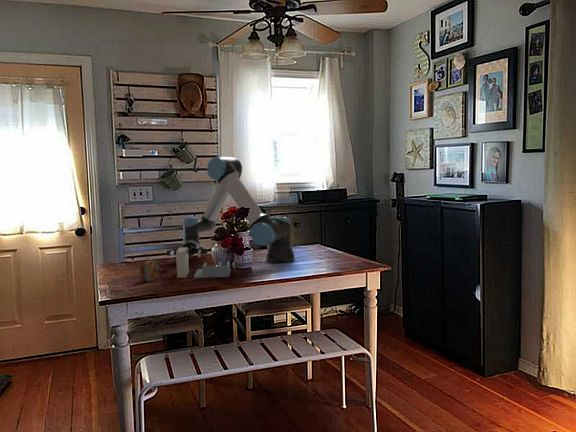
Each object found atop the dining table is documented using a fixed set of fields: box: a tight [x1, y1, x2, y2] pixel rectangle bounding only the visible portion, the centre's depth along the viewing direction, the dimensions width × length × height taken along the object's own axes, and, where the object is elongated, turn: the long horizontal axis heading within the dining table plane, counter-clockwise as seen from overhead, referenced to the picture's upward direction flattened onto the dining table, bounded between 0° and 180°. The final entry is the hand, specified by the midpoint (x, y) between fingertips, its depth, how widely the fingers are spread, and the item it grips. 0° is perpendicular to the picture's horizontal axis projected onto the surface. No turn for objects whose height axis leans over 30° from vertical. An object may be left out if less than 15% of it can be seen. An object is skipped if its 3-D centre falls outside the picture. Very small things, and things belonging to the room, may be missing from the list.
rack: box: [193, 261, 231, 279], centre depth 234 cm, size 16×16×5 cm
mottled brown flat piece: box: [139, 259, 161, 282], centre depth 226 cm, size 15×3×8 cm, turn 168°
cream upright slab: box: [175, 247, 190, 278], centre depth 234 cm, size 4×12×12 cm, turn 4°
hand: (184, 255), depth 243 cm, fingers open, 13 cm apart
